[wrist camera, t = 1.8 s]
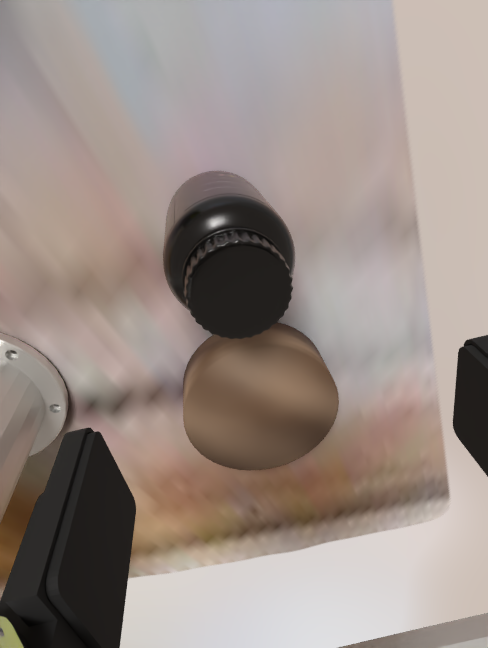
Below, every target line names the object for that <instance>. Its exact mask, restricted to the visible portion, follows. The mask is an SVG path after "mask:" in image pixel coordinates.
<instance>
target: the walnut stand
mask: <svg viewBox="0 0 488 648" xmlns="http://www.w3.org/2000/svg"><path fill="white" fill-rule="evenodd" d="M338 404H339V400H338V392H337V387H336V385H335V382H334V380H333V378H332V376H331V374H330V372H329V370H328V368H327V367H326V365H325V363H324V361H323V359H322V357H321V355H320V353H319V351H318V350H317V348H316V346H315V345H314V344H313V342H312V341H311V340H310V339H309V338H308V337H307V336H305V335H304V334H303V333H301V332H300V331H298V330H297V329H295V328H292V327H290V326H288V325H285V324H281V323H276V324H274V325H272V326H271V328H270V329H268V330H265V331H263V332H262V333H261V334H258V335H254V336H253V337H251V338H248V337H245V338H243V339H237V338H235V339H229V338H227V337H224V338H221V337H220V336H219V335H212V336H211V337H210V338H208V339H207V340H206V341H205V342H204V343H203V344H202V345H201V346H200V347H199V348H198V349H197V350H196V351H195V353H194V354H193V355H192V357H191V359H190V361H189V362H188V365H187V367H186V370H185V374H184V381H183V420H184V427H185V430H186V434H187V436H188V438H189V440H190V442H191V443H192V444H193V446H194V447H195V448H196V449H197V450H198V451H199V452H200V453H201V454H202V455H203V456H205V457H206V458H208V459H209V460H211V461H213V462H215V463H217V464H220V465H222V466H225V467H229V468H233V469H239V470H262V469H269V468H274V467H278V466H281V465H284V464H287V463H289V462H292V461H294V460H296V459H298V458H300V457H302V456H303V455H305V454H306V453H308V452H309V451H311V450H312V449H313V448H314V447H316V446H317V445H318V444H319V443H320V442H321V441H322V440H323V439H324V437H325V436H326V435H327V434H328V432H329V431H330V429H331V427H332V426H333V423H334V421H335V419H336V415H337V411H338Z"/></svg>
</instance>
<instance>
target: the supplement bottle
mask: <svg viewBox="0 0 488 648" xmlns="http://www.w3.org/2000/svg"><path fill="white" fill-rule="evenodd" d="M163 265H164V272H165V276H166V280H167V283H168V285H169V287H170V289H171V291H172V293H173V294H174V296H175V297H176V298H177V300H178V301H179V302H180V303H181V304H182V305H183V306H184V307H185V308H186V309H188V310H189V311H190V313H191V315H192V316H193V317H194V318H195V319H196V322H197V323H198V324H200V325H202V327H203V329H205V330H208V331H210V332H211V333H212V334H214V335H219V336H220V337H221V338H224V337H227V338H229V339H235V338H237V339H243V338H245V337H248V338H251V337H253V336H254V335H258V334H261V333H262V332H263V331H265V330H268V329H270V328H271V326H272V325H274V324H276V323H277V322H278V320H279V318H281V317H282V316H283V315H284V312H285V310H286V309H287V308H288V303H289V301H290V300H291V292H292V289H293V287H292V284H291V283H292V275H293V271H294V266H295V249H294V244H293V240H292V237H291V234H290V232H289V230H288V228H287V226H286V224H285V223H284V221H283V220H282V218H281V217H280V216H279V215H278V213H277V212H276V211H275V210H274V209H273V208H272V206H271V205H270V204H269V203H268V202H267V201H266V200H265V198H264V197H263V196H262V195H261V194H260V193H259V191H258V190H257V189H256V188H255V187H254V186H253V185H252V184H251V183H249V182H248V181H247V180H245V179H244V178H242V177H240V176H238V175H236V174H233V173H229V172H224V171H210V172H205V173H202V174H199V175H196V176H194V177H192V178H191V179H189V180H188V181H186V182H185V183H184V184H183V185H182V186H181V187H180V188H179V189H178V190H177V192H176V193H175V195H174V196H173V198H172V200H171V202H170V205H169V208H168V212H167V218H166V227H165V239H164V251H163Z"/></svg>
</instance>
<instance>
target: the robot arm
mask: <svg viewBox="0 0 488 648" xmlns="http://www.w3.org/2000/svg"><path fill="white" fill-rule="evenodd" d="M68 406H69V403H68V393H67V390H66V387H65V384H64V381H63V379H62V378H61V376H60V375H59V373H58V371H57V370H56V368H55V367H54V366H53V365H52V364H51V363H50V362H49V361H48V360H47V358H46V357H44V356H43V355H42V354H40V353H39V352H38V351H37V350H35V349H34V348H33V347H31V346H29V345H27V344H26V343H24V342H22V341H20V340H18V339H16V338H14V337H11V336H8V335H6V334H3V333H0V523H1V521H2V518H3V516H4V514H5V511H6V509H7V506H8V504H9V502H10V499H11V497H12V495H13V492H14V490H15V487H16V485H17V483H18V480H19V478H20V475H21V473H22V471H23V468H24V466H25V464H26V461H27V459H28V457H30V456H32V455H34V454H37V453H39V452H40V451H42V450H43V449H45V448H46V447H48V446H49V445H50V444H51V443H52V442H53V441H54V440H55V439H56V438H57V436H58V434H59V433H60V431H61V429H62V428H63V425H64V422H65V420H66V417H67V412H68ZM453 428H454V431H455V433H456V435H457V437H458V438H459V440H460V441H461V442H462V444H463V445H464V446H465V447H466V449H467V450H468V451H469V453H470V454H471V455H472V457H473V458H474V459H475V461H476V462H477V463H478V464H479V466H480V467H481V468H482V469H483V471H484V472H485V473H486V475H487V476H488V335H486V336H482V337H477V338H473V339H469V340H466V342H465V343H464V347H461V348H460V349H459V352H458V364H457V377H456V389H455V403H454V416H453ZM135 515H136V505H135V500H134V497H133V495H132V493H131V491H130V489H129V487H128V485H127V483H126V482H125V480H124V478H123V476H122V474H121V472H120V470H119V468H118V466H117V464H116V462H115V460H114V458H113V456H112V454H111V452H110V450H109V448H108V446H107V444H106V442H105V441H104V439H103V437H102V435H101V433H100V432H94V431H93V430H92V429H91V428H85V429H81V430H76V431H72V432H68V433H66V434H65V436H64V437H63V440H62V443H61V446H60V449H59V452H58V455H57V457H56V460H55V463H54V466H53V469H52V472H51V474H50V477H49V480H48V483H47V486H46V489H45V492H44V493H42V494H41V495H40V496H39V498H38V500H37V502H36V504H35V507H34V510H33V512H32V515H31V518H30V521H29V523H28V526H27V529H26V532H25V534H24V537H23V540H22V543H21V545H20V548H19V551H18V554H17V556H16V559H15V562H14V565H13V567H12V570H11V573H10V576H9V578H8V581H7V584H6V587H5V590H4V592H3V595H2V598H1V601H0V648H119V647H120V639H121V630H122V622H123V614H124V606H125V597H126V589H127V581H128V573H129V564H130V556H131V548H132V540H133V531H134V523H135ZM339 648H488V613H486V614H481V615H477V616H472V617H468V618H464V619H459V620H455V621H451V622H446V623H442V624H437V625H433V626H429V627H424V628H420V629H416V630H412V631H407V632H403V633H399V634H394V635H390V636H386V637H382V638H377V639H373V640H369V641H364V642H360V643H356V644H352V645H348V646H343V647H339Z"/></svg>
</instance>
